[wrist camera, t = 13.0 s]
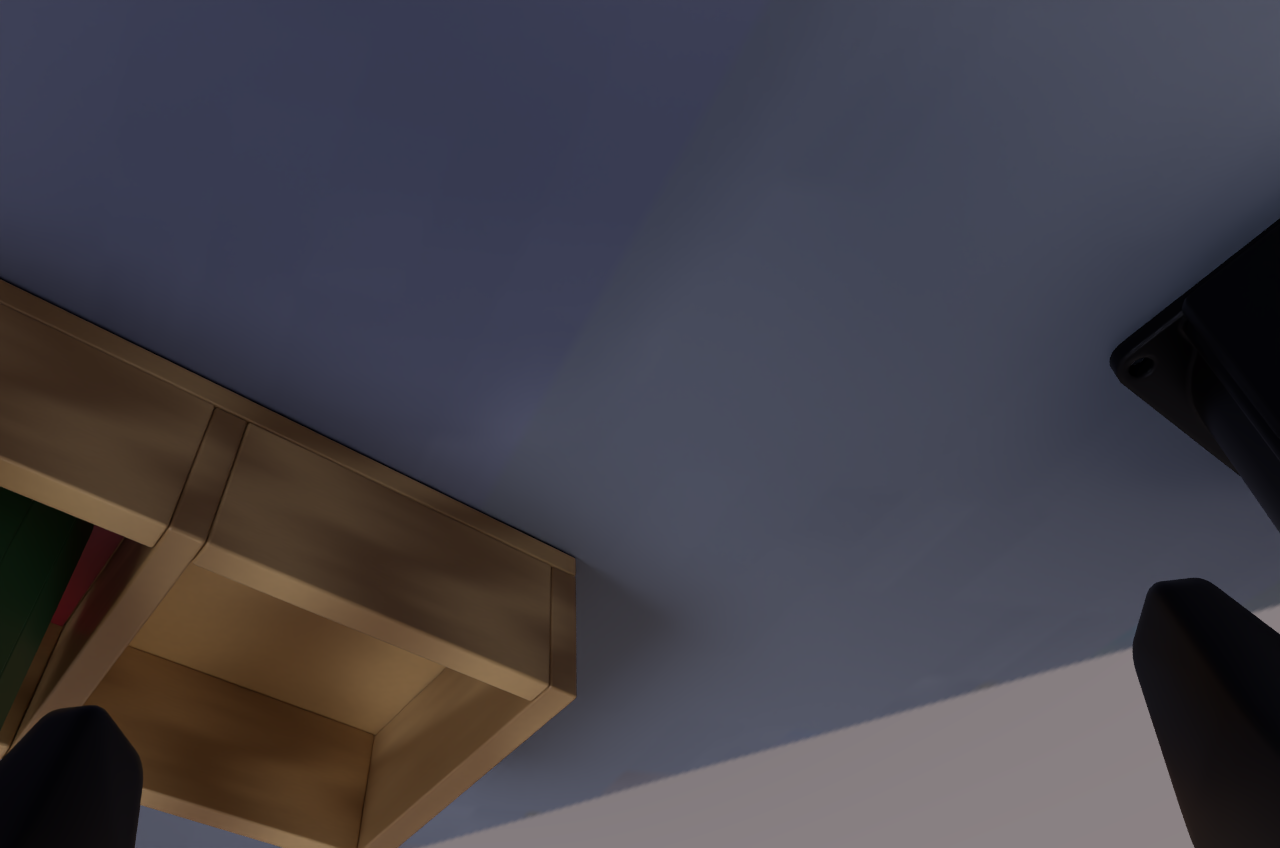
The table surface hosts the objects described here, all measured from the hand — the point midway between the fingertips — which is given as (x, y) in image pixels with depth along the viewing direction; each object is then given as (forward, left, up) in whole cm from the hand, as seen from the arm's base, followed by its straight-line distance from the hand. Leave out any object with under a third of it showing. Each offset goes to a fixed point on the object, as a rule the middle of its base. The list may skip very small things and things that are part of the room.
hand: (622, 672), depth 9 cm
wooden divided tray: (+2, +14, -12) cm, 19 cm away
